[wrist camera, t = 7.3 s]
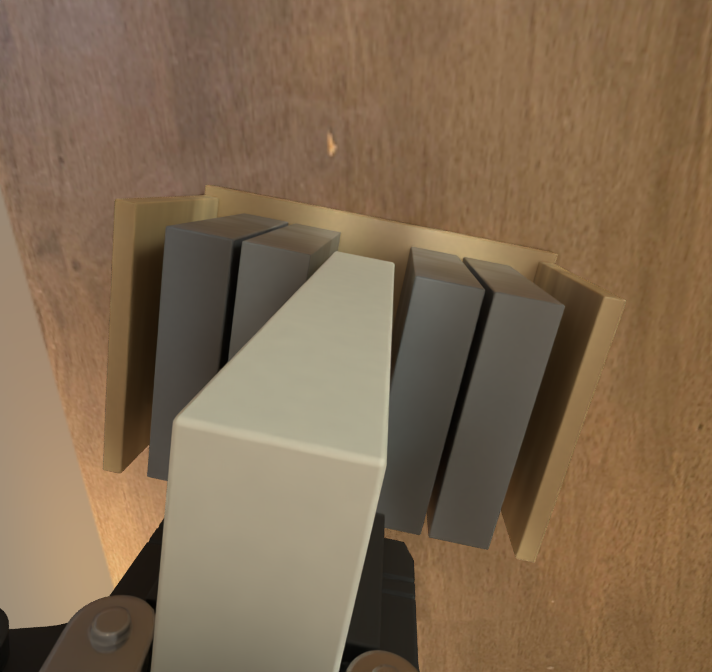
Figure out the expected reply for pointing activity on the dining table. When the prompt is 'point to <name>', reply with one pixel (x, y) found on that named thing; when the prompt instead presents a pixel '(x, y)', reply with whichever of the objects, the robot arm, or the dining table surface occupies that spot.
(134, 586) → the robot arm
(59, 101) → the dining table surface
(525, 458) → the grey rack
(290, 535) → the white book
